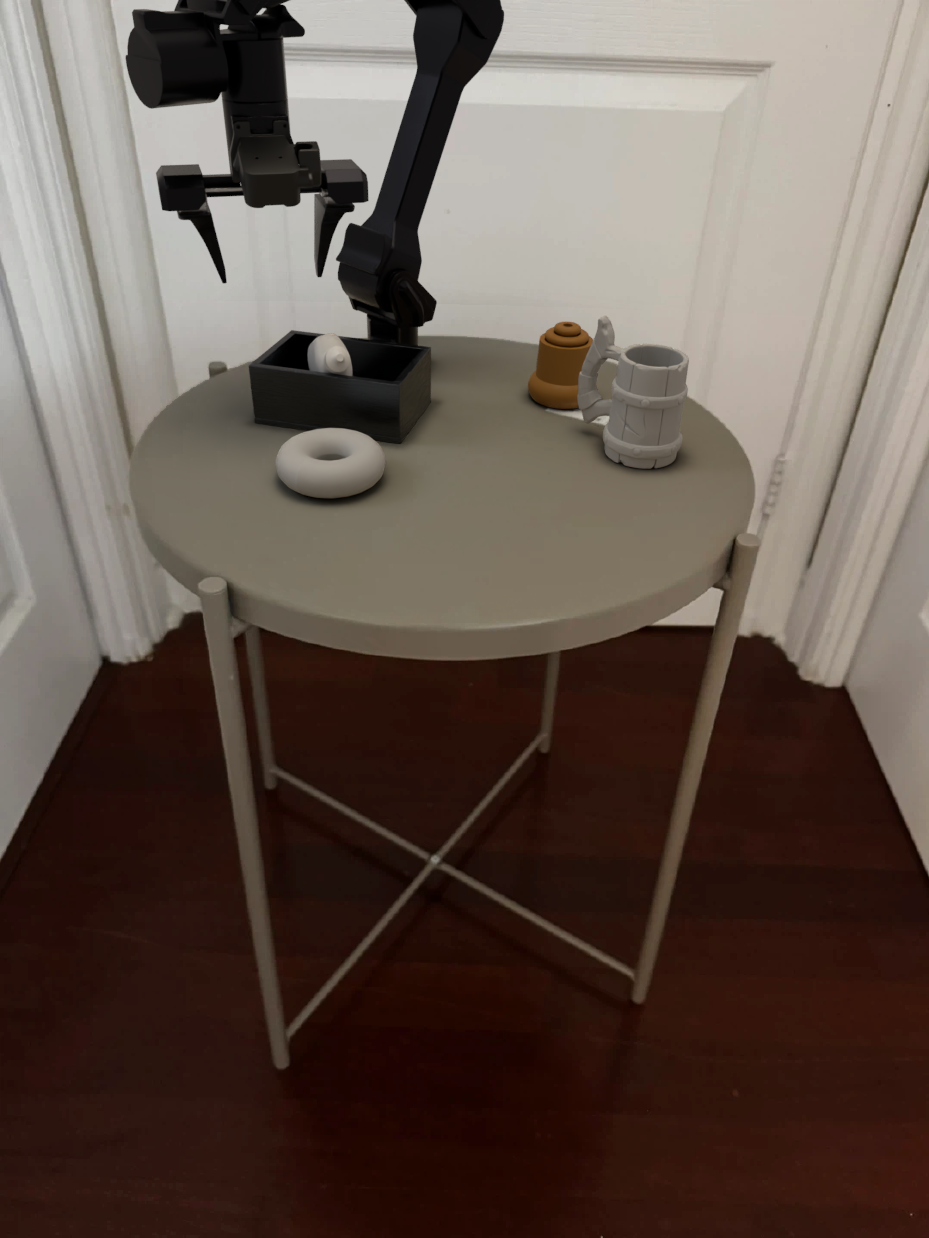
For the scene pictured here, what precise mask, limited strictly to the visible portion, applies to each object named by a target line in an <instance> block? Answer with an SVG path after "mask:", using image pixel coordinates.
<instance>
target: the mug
mask: <svg viewBox="0 0 929 1238" xmlns="http://www.w3.org/2000/svg"><path fill="white" fill-rule="evenodd" d="M615 336H616V335H615V330H614V327H613V323H612V321H611V319H610V318H609V317H608V316H607V315H603V316H601V317H599V318H598V320H597V328H596V332H595V335H594V338H592V339H593V342H592V344H591V347H590V349H589V351H588V353H587V355H586V359H585V361H584V363H583V366H582V371H581V372H580V373H579V378H578V395H577V400H578V406H579V408H578V410H580V411H581V415H582V421H583V422H584V423H586V424H591V423H593V422H594V421H595V420H597V419H598V418H599V417H608V422H607V423H606V424H605V426H604V428H603V431H602V441H603V443H604V447H603V450H604V453H605V455H606V456H607V457H608V458H609V459H610V460H611V461H613V462H615V463H617V464H618V463H622V464H623V465H624V466H625V467H630V468H634V469H644V470H647V469H652V468H654V469H660V468H663V467H664V468H665V467H666V466H669V465H671V464H672V463H673V462H674V461H675V460H676V458H677V453H678V452H679V450H680V449H681V447H682V444H683V434H682V432H681V426H682V425H681V424H682V417H683V416H682V415H683V411H684V410H683V409H684V403H685V402H686V400H687V397H688V391H689V387H688V385H687V378H688V370H689V363H690V358H689V357H688V355H687V354H686V353H685V352H684V351H682V350H680V349H679V348H673V347H672V346H668V345H663V344H657V343H656V344H655V343H642V344H640V343H636V344H632V345H629V346H626V347H621V346H618V345H615V341H616V339H615V338H616V337H615ZM608 359H609V360H610V359H611V360H613V361H616V362H618V363H617V368H616V375H615V377H614V378H613V379H612V383H611V394H612V398H610V399H609V398H608V399H603V397H602V395H601V394H600V391H599V388H598V387H597V388H596V384H597V383H598V376H599V373H598V372H599V370H600V368H601V367H602V365H604V364H605V362H606V361H607V360H608ZM597 385H598V384H597Z"/></svg>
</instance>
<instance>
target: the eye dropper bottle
mask: <svg viewBox="0 0 929 1238" xmlns="http://www.w3.org/2000/svg"><path fill="white" fill-rule="evenodd" d="M324 334H325V335H322V336H319V337H317V338H316V339H315V340H314V341H313V342H312V343H311V344H310V346H309V348H308V366H309V371H317V372H324V373H332V374H340V375H347V376H352V375H353V374H352V363H351V359H350V355H349V353H348V351H347V349H346V347H345V345H344V344H343V342H342V341H341V339H340V338H339V337H338V336H339V335H338V334H336V333H335V332H334V333H333V332H330V333H324Z"/></svg>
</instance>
